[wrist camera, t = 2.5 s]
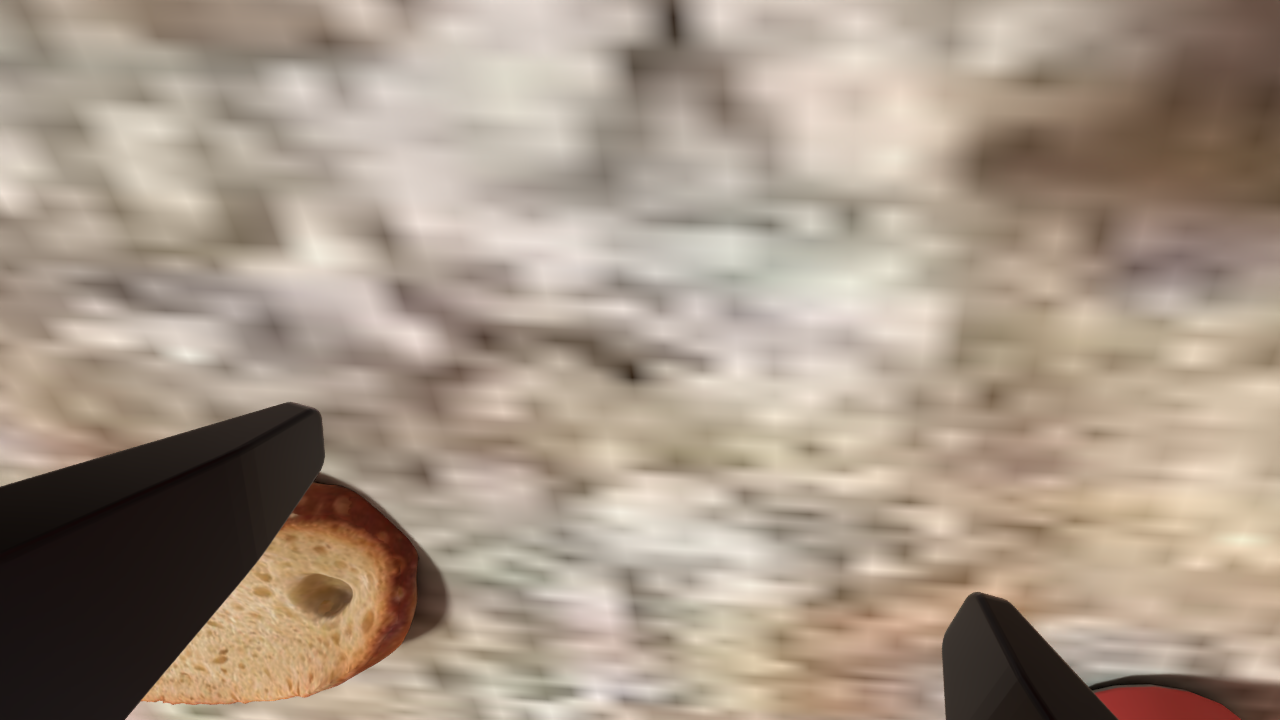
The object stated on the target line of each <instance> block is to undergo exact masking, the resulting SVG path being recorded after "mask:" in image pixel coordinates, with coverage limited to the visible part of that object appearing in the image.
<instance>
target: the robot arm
mask: <svg viewBox="0 0 1280 720" xmlns="http://www.w3.org/2000/svg"><path fill="white" fill-rule="evenodd" d="M324 458H325V449H324V437H323V425H322V417H321V414H320V412H319V411H318V410H317V409H315V408H313V407H309V406H305V405H302V404H298V403H293V402H287V403H283V404H280V405H276V406H273V407H270V408H266V409H263V410H259V411H256V412H253V413H249V414H246V415H242V416H239V417H236V418H232V419H229V420H225V421H222V422H219V423H215V424H212V425H208V426H205V427H202V428H198V429H195V430H191V431H188V432H185V433H181V434H178V435H174V436H171V437H168V438H164V439H161V440H157V441H154V442H151V443H147V444H144V445H140V446H137V447H134V448H130V449H127V450H123V451H120V452H117V453H113V454H110V455H106V456H103V457H100V458H96V459H93V460H89V461H86V462H83V463H79V464H76V465H72V466H69V467H66V468H62V469H59V470H55V471H52V472H49V473H45V474H42V475H38V476H35V477H32V478H28V479H25V480H21V481H18V482H15V483H11V484H8V485H4V486H1V487H0V720H125V719H126V718H127V717H128V715H129V714H130V713H131V712H132V711H133V710H134V708H135V707H136V706H137V705H138V704H139V702H140V701H141V700H142V699H143V698H144V696H145V695H146V694H147V693H148V692H149V691H150V689H151V688H152V687H153V686H154V685H155V683H156V682H157V681H158V680H159V679H160V677H161V676H162V675H163V674H164V673H165V672H166V670H167V669H168V668H169V667H170V666H171V664H172V663H173V662H174V661H175V660H176V659H177V657H178V656H179V655H180V654H181V653H182V651H183V650H184V649H185V648H186V647H187V645H188V644H189V643H190V642H191V641H192V640H193V638H194V637H195V636H196V635H197V634H198V632H199V631H200V630H201V629H202V628H203V627H204V625H205V624H206V623H207V622H208V621H209V619H210V618H211V617H212V616H213V615H214V613H215V612H216V611H217V610H218V609H219V608H220V606H221V605H222V604H223V603H224V602H225V600H226V599H227V598H228V597H229V596H230V594H231V593H232V592H233V591H234V590H235V589H236V587H237V586H238V585H239V584H240V583H241V581H242V580H243V579H244V578H245V577H246V575H247V574H248V573H249V572H250V571H251V569H252V568H253V567H254V566H255V564H256V563H257V562H258V561H259V559H260V558H261V556H262V555H263V554H264V552H265V551H266V550H267V548H268V547H269V545H270V544H271V542H272V541H273V540H274V538H275V537H276V535H277V534H278V532H279V531H280V529H281V528H282V526H283V525H284V523H285V522H286V521H287V519H288V518H289V516H290V515H291V513H292V512H293V510H294V509H295V507H296V506H297V504H298V503H299V502H300V500H301V499H302V497H303V496H304V494H305V493H306V491H307V490H308V488H309V487H310V485H311V484H312V483H313V481H314V480H315V478H316V477H317V475H318V474H319V472H320V470H321V468H322V466H323V463H324ZM942 660H943V678H944V696H945V714H946V720H1118V718H1117V717H1116V716H1115V715H1114V714H1113V713H1112V712H1111V711H1110V710H1109V709H1108V708H1107V707H1106V705H1105V704H1104V703H1103V702H1102V701H1101V700H1100V699H1099V698H1098V697H1097V696H1096V695H1095V694H1094V692H1093V691H1092V690H1091V689H1090V688H1089V687H1088V686H1087V685H1086V684H1085V683H1084V682H1083V681H1082V679H1081V678H1080V677H1079V676H1078V675H1077V674H1076V673H1075V672H1074V671H1073V670H1072V669H1071V668H1070V667H1069V665H1068V664H1067V663H1066V662H1065V661H1064V660H1063V659H1062V658H1061V657H1060V656H1059V655H1058V654H1057V652H1056V651H1055V650H1054V649H1053V648H1052V647H1051V646H1050V645H1049V644H1048V643H1047V642H1046V641H1045V639H1044V638H1043V637H1042V636H1041V635H1040V634H1039V633H1038V632H1037V631H1036V630H1035V629H1034V628H1033V626H1032V625H1031V624H1030V623H1029V622H1028V621H1027V620H1026V619H1025V618H1024V617H1023V616H1022V615H1021V613H1020V612H1019V611H1018V610H1017V609H1016V608H1015V607H1014V606H1013V605H1012V604H1011V603H1010V602H1008V601H1007V600H1005V599H1002V598H999V597H995V596H992V595H988V594H984V593H981V592H974V593H972V594H970V595H969V596H968V597H967V598H966V600H965V601H964V603H963V605H962V606H961V608H960V609H959V611H958V613H957V614H956V616H955V617H954V619H953V621H952V622H951V624H950V626H949V627H948V629H947V631H946V633H945V635H944V638H943V643H942Z"/></svg>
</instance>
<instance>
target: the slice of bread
mask: <svg viewBox="0 0 1280 720" xmlns="http://www.w3.org/2000/svg"><path fill="white" fill-rule="evenodd" d="M417 565H418V554H417V552H416V550H415V548H414V546H413V545H412V543H411V542H410V541H409V539H408V538H407V537H406V536H405V535H404V534H403V533H402V532H401V531H400V530H399V529H397V528H396V527H395V526H394V525H393V524H392V523H391V522H390V521H389V520H388V519H387V518H386V517H385V516H383V515H382V514H381V513H380V512H379V511H378V510H377V509H376V508H375V507H373V506H372V505H371V504H370V503H369V502H367V501H366V500H365V499H364V498H362V497H361V496H360V495H358V494H357V493H355V492H354V491H352V490H350V489H348V488H345V487H343V486H339V485H325V484H319V483H314V482H313V483H312V484H311V485H310V487H309V488H308V490H307V491H306V493H305V494H304V496H303V497H302V499H301V500H300V502H299V503H298V504H297V506H296V507H295V509H294V510H293V512H292V513H291V515H290V516H289V518H288V519H287V521H286V522H285V523H284V525H283V526H282V528H281V529H280V531H279V532H278V534H277V535H276V537H275V538H274V540H273V541H272V542H271V544H270V545H269V547H268V548H267V550H266V551H265V552H264V554H263V555H262V556H261V558H260V559H259V561H258V562H257V563H256V564H255V566H254V567H253V568H252V569H251V571H250V572H249V573H248V574H247V575H246V577H245V578H244V579H243V580H242V581H241V583H240V584H239V585H238V586H237V587H236V589H235V590H234V591H233V592H232V593H231V594H230V596H229V597H228V598H227V599H226V600H225V602H224V603H223V604H222V605H221V606H220V608H219V609H218V610H217V611H216V612H215V613H214V615H213V616H212V617H211V618H210V619H209V621H208V622H207V623H206V624H205V625H204V627H203V628H202V629H201V630H200V631H199V632H198V634H197V635H196V636H195V637H194V638H193V640H192V641H191V642H190V643H189V644H188V645H187V647H186V648H185V649H184V650H183V651H182V653H181V654H180V655H179V656H178V657H177V659H176V660H175V661H174V662H173V663H172V664H171V666H170V667H169V668H168V669H167V670H166V672H165V673H164V674H163V675H162V676H161V677H160V679H159V680H158V681H157V682H156V683H155V685H154V686H153V687H152V688H151V689H150V691H149V692H148V693H147V694H146V695H145V696H144V698H143V699H142V700H141V701H147V702H150V701H152V702H157V701H159V700H160V701H163V703H171V704H172V705H174V704H180V703H185V704H192V705H196V704H210V705H211V704H232V703H236V702H242V703H245V704H246V703H248V702H252V701H275V700H280V699H287V698H291V697H295V696H300V697H308V696H311V695H313V694H316V693H318V692H320V691H323V690H326V689H329V688H332V687H335V686H338V685H340V684H342V683H343V682H345V681H347V680H348V679H350V678H352V677H354V676H355V675H357V674H359V673H360V672H362V671H364V670H366V669H367V668H369V667H371V666H373V665H375V664H376V663H378V662H380V661H381V660H383V659H384V658H386V657H387V656H388V655H390V654H391V653H392V652H393V651H395V650H396V649H397V648H398V647H399V646H400V645H401V644H402V642H403V641H404V638H405V636H406V634H407V633H408V631H409V628H410V626H411V623H412V620H413V617H414V613H415V609H416V605H417V594H418V593H417V580H416V573H417Z"/></svg>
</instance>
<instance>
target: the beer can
mask: <svg viewBox="0 0 1280 720" xmlns="http://www.w3.org/2000/svg"><path fill="white" fill-rule="evenodd" d="M1092 691H1093V692H1094V694H1095V695H1096V696H1097V697H1098V698H1099V699H1100V700H1101V701H1102V702H1103V703H1104V704H1105V705H1106V707H1107V708H1108V709H1109V710H1110V711H1111V712H1112V713H1113V714H1114V715H1115V716H1116V717H1117V718H1118V720H1242V719H1240V718H1239V717H1238V716H1236V715H1235V714H1234V713H1232V712H1231V711H1230V710H1228V709H1227V708H1226V707H1224V706H1223V705H1222V704H1220V703H1217V702H1215V701H1213V700H1210V699H1207V698H1205V697H1202V696H1200V695H1197V694H1194V693H1192V692H1189V691H1187V690H1184V689H1177V688H1171V687H1165V686H1158V685H1152V684H1140V685H1115V686H1110V687H1105V688H1101V689H1096V690H1092Z"/></svg>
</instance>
